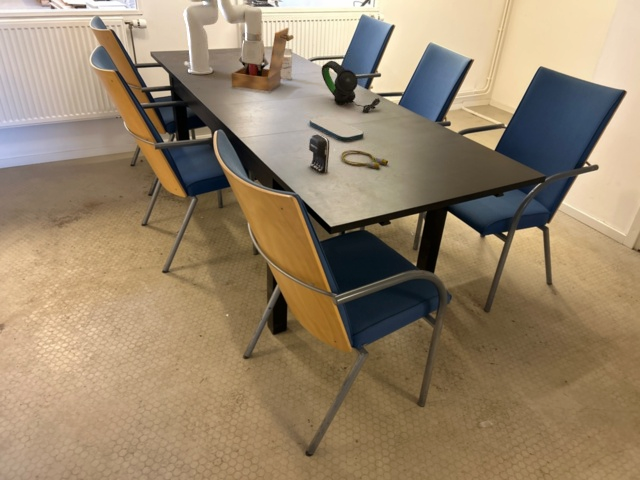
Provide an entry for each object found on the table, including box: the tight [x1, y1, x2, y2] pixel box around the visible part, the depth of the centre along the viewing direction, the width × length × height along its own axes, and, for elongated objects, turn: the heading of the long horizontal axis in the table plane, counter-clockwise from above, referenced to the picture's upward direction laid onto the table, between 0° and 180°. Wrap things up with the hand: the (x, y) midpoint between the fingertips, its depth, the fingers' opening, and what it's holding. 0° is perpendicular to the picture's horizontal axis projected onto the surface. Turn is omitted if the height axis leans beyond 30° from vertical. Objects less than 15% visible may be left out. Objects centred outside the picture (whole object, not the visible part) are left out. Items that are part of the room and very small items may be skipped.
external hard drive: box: [309, 115, 364, 142], centre depth 191 cm, size 24×12×2 cm, turn 37°
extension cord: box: [341, 149, 389, 169], centre depth 168 cm, size 12×16×2 cm
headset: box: [321, 60, 381, 113], centre depth 217 cm, size 18×14×29 cm
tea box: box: [230, 66, 282, 92], centre depth 237 cm, size 19×16×7 cm
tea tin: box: [249, 63, 258, 76], centre depth 233 cm, size 5×5×11 cm
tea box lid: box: [268, 27, 294, 77], centre depth 227 cm, size 20×16×5 cm
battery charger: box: [308, 133, 330, 174], centre depth 157 cm, size 7×4×11 cm, turn 33°
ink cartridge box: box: [281, 47, 293, 80], centre depth 249 cm, size 9×5×15 cm, turn 84°
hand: (253, 77), depth 234 cm, fingers closed on tea tin, 4 cm apart
